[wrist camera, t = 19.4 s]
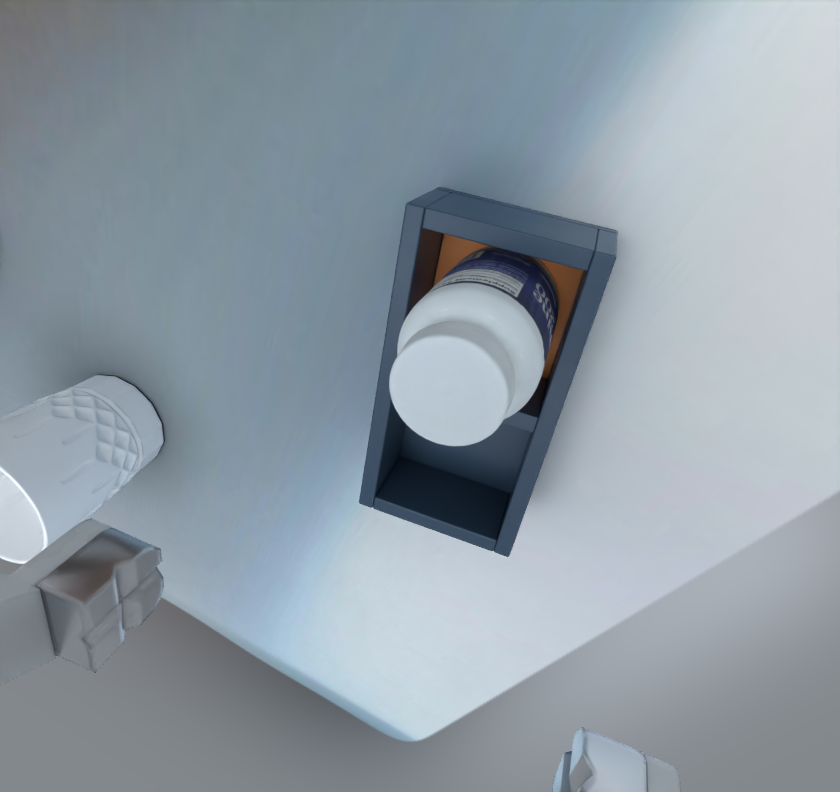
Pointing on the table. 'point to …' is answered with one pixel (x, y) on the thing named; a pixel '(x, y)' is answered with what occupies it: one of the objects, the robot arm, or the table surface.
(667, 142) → the table surface
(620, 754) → the robot arm
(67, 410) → the white cup
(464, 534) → the divided storage box
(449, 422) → the pill bottle
